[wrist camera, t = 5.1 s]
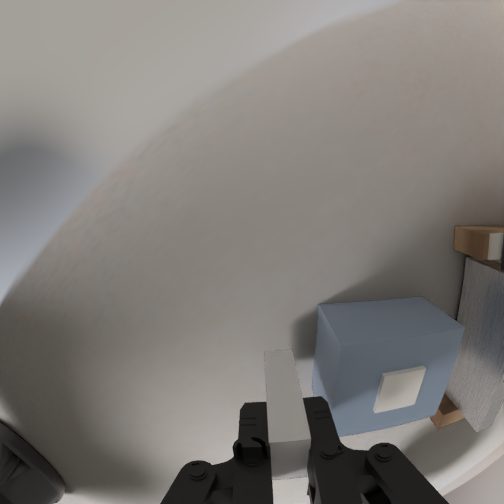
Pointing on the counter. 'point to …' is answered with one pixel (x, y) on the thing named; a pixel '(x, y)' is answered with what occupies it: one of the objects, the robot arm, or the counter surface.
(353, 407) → the blue block
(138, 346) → the counter surface
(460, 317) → the grey flat panel
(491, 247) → the gauge frame
